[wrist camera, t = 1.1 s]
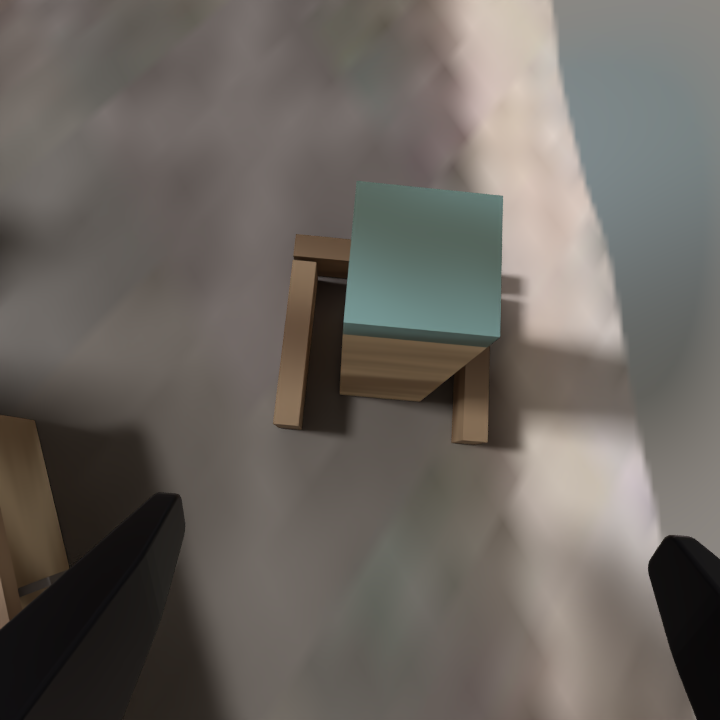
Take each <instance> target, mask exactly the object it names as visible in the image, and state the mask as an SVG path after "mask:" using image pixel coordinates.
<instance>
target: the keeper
mask: <svg viewBox="0 0 720 720" xmlns="http://www.w3.org/2000/svg"><path fill="white" fill-rule="evenodd" d="M350 248H351V240H350V239H340V238H330V237H320V236H309V235H299V234H296V239H295V247H294V255H293V256H294V260H293V263H292V272H291V280H290V288H289V296H288V305H287V313H286V321H285V329H284V338H283V346H282V354H281V362H280V371H279V379H278V387H277V395H276V404H275V412H274V420H273V424H274V425H276V426H277V427H278V428H286V429H298V430H302V422H303V413H304V404H305V395H306V385H307V376H308V367H309V358H310V348H311V339H312V330H313V320H314V311H315V302H316V293H317V283H318V276H326V277H337V278H347V279H348V269H349V258H350ZM489 363H490V346H488V347H487V348H486V349H485V350H483V351H482V352H481V353H480V354H478V355H477V356H476V357H475V358H473V359H472V360H471V361H470V362H468V363H467V364H466V365H465V366H463V367H462V368H461V369H460V370H458V371H457V372H456V373H455V374H454V392H453V416H452V441H451V443H460V444H471V445H475V444H481V443H486V442H488V405H489Z"/></svg>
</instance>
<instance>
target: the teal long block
mask: <svg viewBox="0 0 720 720" xmlns="http://www.w3.org/2000/svg"><path fill="white" fill-rule="evenodd" d="M502 216H503V196H499V195H489V194H480V193H470V192H460V191H450V190H440V189H431V188H421V187H411V186H401V185H392V184H382V183H372V182H362V181H357V184H356V194H355V205H354V216H353V226H352V237H351V248H350V258H349V269H348V280H347V290H346V301H345V312H344V323H343V341H342V359H341V377H340V395H351V396H362V397H373V398H384V399H396V400H407V401H418V402H420V401H421V400H422V399H424V398H425V397H426V396H427V395H429V394H430V393H431V392H432V391H434V390H435V389H436V388H437V387H439V386H440V385H441V384H442V383H443V382H445V381H446V380H447V379H448V378H450V377H451V376H452V375H453V374H455V373H456V372H457V371H458V370H460V369H461V368H462V367H463V366H465V365H466V364H467V363H468V362H470V361H471V360H472V359H473V358H475V357H476V356H477V355H478V354H480V353H481V352H482V351H483V350H485V349H486V348H487V347H488V346H490V345H491V344H492V343H493V342H495V341H496V340H497V339H498V338H499V337H500V317H501V266H502Z"/></svg>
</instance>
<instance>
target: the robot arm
mask: <svg viewBox="0 0 720 720" xmlns="http://www.w3.org/2000/svg"><path fill="white" fill-rule="evenodd" d="M184 532H185V519H184V512H183V506H182V499H181V497H180V495H179V494H176V493H164V492H159V493H156V494H154V495H153V496H152V497H150V498H149V499H148V500H147V501H146V502H145V503H144V504H142V505H141V506H140V507H139V508H138V509H137V510H136V511H134V512H133V513H132V514H131V515H130V516H129V517H128V518H126V519H125V520H124V521H123V522H122V523H121V524H120V525H118V526H117V527H116V528H115V529H114V530H113V531H112V532H110V533H109V534H108V535H107V536H106V537H105V538H104V539H102V540H101V541H100V542H99V543H98V544H97V545H96V546H94V547H93V548H92V549H91V550H90V551H89V552H88V553H86V554H85V555H84V556H83V557H82V558H81V559H80V560H79V561H77V562H76V563H75V564H74V565H73V566H72V567H71V568H69V569H68V570H67V571H66V572H65V573H64V574H63V575H61V576H60V577H59V578H58V579H57V580H56V581H55V582H53V583H52V584H51V585H50V586H49V587H48V588H47V589H45V590H44V591H43V592H42V593H41V594H40V595H39V596H37V597H36V598H35V599H34V600H33V601H32V602H31V603H29V604H28V605H27V606H26V607H25V608H24V609H23V610H21V611H20V612H19V613H18V614H17V615H16V616H15V617H13V618H12V619H11V620H10V621H9V622H8V623H7V624H5V625H4V626H3V627H2V628H1V629H0V720H122V718H123V716H124V713H125V711H126V708H127V706H128V703H129V700H130V698H131V695H132V693H133V690H134V688H135V685H136V683H137V680H138V677H139V675H140V672H141V670H142V667H143V665H144V662H145V660H146V657H147V654H148V652H149V649H150V647H151V644H152V642H153V639H154V637H155V634H156V631H157V629H158V626H159V623H160V620H161V617H162V614H163V610H164V607H165V603H166V600H167V596H168V592H169V589H170V585H171V581H172V578H173V574H174V570H175V567H176V563H177V559H178V556H179V552H180V548H181V545H182V541H183V537H184ZM648 572H649V577H650V580H651V584H652V587H653V591H654V594H655V598H656V601H657V605H658V608H659V612H660V615H661V619H662V622H663V626H664V629H665V633H666V636H667V640H668V643H669V646H670V650H671V653H672V656H673V659H674V662H675V664H676V667H677V670H678V673H679V675H680V678H681V680H682V683H683V685H684V688H685V691H686V693H687V696H688V698H689V701H690V703H691V706H692V708H693V711H694V714H695V716H696V719H697V720H720V559H719V558H718V557H717V556H715V555H714V554H713V553H712V552H710V551H709V550H708V549H707V548H706V547H704V546H703V545H702V544H700V543H699V542H698V541H697V540H695V539H694V538H692V537H689V536H680V535H668V536H666V537H665V538H664V539H663V541H662V542H661V544H660V545H659V547H658V548H657V550H656V551H655V553H654V554H653V556H652V557H651V559H650V561H649V564H648Z"/></svg>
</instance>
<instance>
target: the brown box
mask: <svg viewBox="0 0 720 720" xmlns="http://www.w3.org/2000/svg"><path fill="white" fill-rule="evenodd" d="M68 569H69V564H68V560H67V555H66V551H65V547H64V543H63V538H62V534H61V530H60V526H59V521H58V517H57V513H56V509H55V504H54V500H53V496H52V492H51V487H50V483H49V479H48V475H47V470H46V466H45V462H44V458H43V453H42V449H41V445H40V441H39V436H38V432H37V428H36V424H35V420H30V419H24V418H18V417H11V416H5V415H0V629H1V628H2V627H3V626H4V625H5V624H7V623H8V622H9V621H10V620H11V619H12V618H13V617H15V616H16V615H17V614H18V613H19V612H20V611H21V610H23V609H24V608H25V607H26V606H27V605H28V604H29V603H31V602H32V601H33V600H34V599H35V598H36V597H37V596H39V595H40V594H41V593H42V592H43V591H44V590H45V589H47V588H48V587H49V586H50V585H51V584H52V583H53V582H55V581H56V580H57V579H58V578H59V577H60V576H61V575H63V574H64V573H65V572H66V571H67V570H68Z"/></svg>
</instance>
